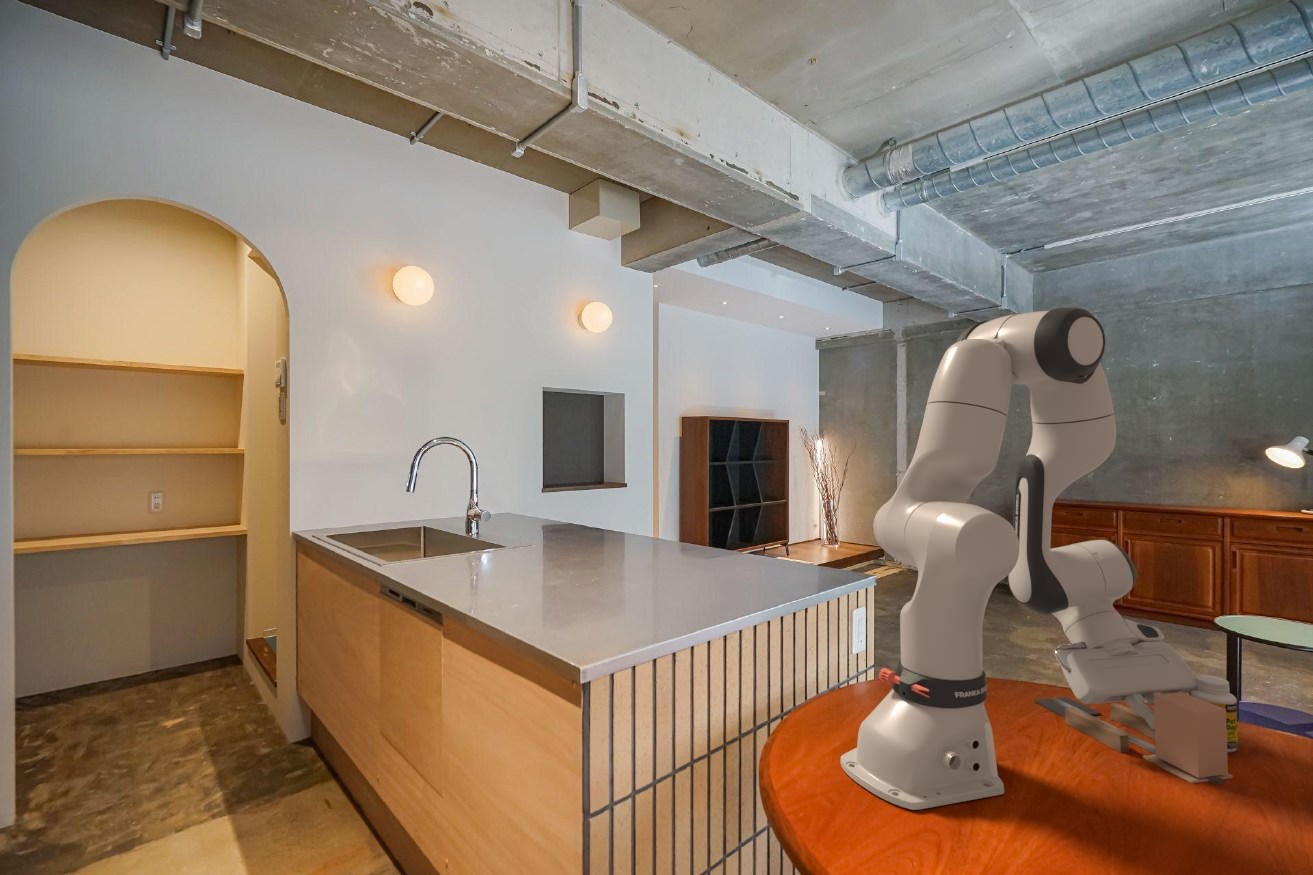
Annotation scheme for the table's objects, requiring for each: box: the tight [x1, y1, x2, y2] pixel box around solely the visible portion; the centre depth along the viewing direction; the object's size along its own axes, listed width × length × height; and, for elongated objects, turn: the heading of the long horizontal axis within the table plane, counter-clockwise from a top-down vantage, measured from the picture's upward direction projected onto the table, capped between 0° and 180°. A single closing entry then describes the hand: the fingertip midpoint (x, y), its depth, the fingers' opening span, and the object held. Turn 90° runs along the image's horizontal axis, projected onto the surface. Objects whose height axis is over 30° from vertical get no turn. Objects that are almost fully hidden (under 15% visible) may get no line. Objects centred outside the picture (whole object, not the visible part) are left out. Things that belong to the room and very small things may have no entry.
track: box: [1049, 697, 1225, 786], centre depth 97 cm, size 28×10×2 cm, turn 10°
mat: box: [1142, 753, 1234, 784], centre depth 88 cm, size 7×7×1 cm
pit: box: [1033, 696, 1102, 718], centre depth 108 cm, size 7×7×1 cm
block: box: [1153, 692, 1229, 778], centre depth 87 cm, size 6×5×9 cm
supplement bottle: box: [1188, 674, 1239, 753], centre depth 94 cm, size 6×6×10 cm
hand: (1164, 726), depth 91 cm, fingers closed, pressing on block
